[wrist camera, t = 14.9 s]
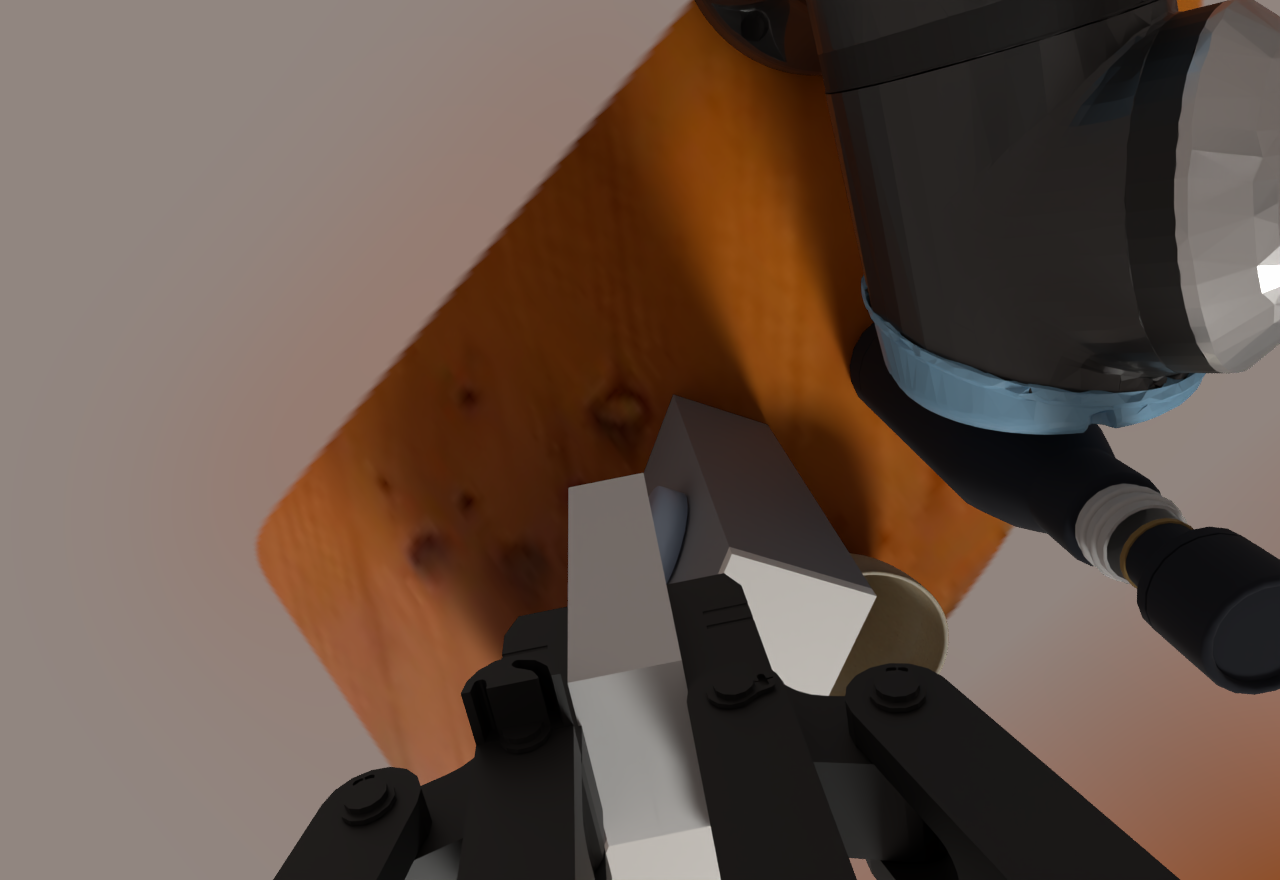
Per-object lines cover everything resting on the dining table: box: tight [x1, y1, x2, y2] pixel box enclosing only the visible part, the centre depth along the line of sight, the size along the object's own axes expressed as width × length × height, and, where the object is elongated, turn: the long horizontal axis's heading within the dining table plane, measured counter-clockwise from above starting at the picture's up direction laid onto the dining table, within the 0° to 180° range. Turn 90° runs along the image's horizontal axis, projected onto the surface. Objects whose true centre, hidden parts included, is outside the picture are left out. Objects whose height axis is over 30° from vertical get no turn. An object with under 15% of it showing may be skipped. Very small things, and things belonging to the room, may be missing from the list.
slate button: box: [648, 486, 688, 584], centre depth 43 cm, size 4×5×5 cm
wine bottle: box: [850, 323, 1280, 695], centre depth 40 cm, size 6×6×30 cm
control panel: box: [604, 395, 877, 880], centre depth 48 cm, size 6×24×21 cm, turn 160°
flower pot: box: [829, 553, 949, 696], centre depth 55 cm, size 10×10×7 cm
